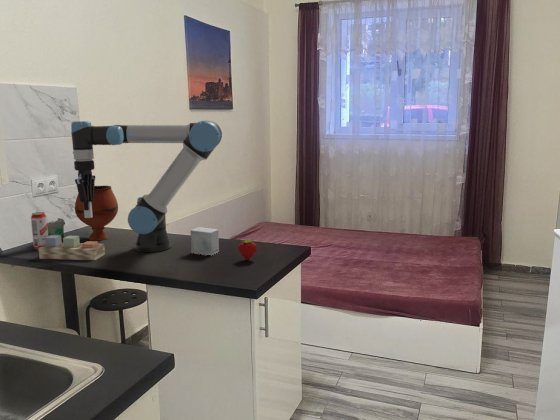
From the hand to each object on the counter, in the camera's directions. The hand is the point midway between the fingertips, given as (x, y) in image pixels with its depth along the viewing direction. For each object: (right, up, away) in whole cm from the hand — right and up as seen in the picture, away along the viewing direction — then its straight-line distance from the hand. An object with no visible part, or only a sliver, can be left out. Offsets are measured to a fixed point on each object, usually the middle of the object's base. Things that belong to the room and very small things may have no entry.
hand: (88, 217), depth 206 cm
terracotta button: (0, -14, +3) cm, 15 cm away
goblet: (-8, -11, +34) cm, 37 cm away
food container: (-25, -12, +28) cm, 39 cm away
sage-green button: (-8, -12, +3) cm, 15 cm away
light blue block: (-16, -12, +4) cm, 21 cm away
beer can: (-27, -14, +16) cm, 35 cm away
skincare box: (+47, -16, +9) cm, 50 cm away
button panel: (-8, -16, +4) cm, 19 cm away
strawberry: (+66, -18, -2) cm, 68 cm away
